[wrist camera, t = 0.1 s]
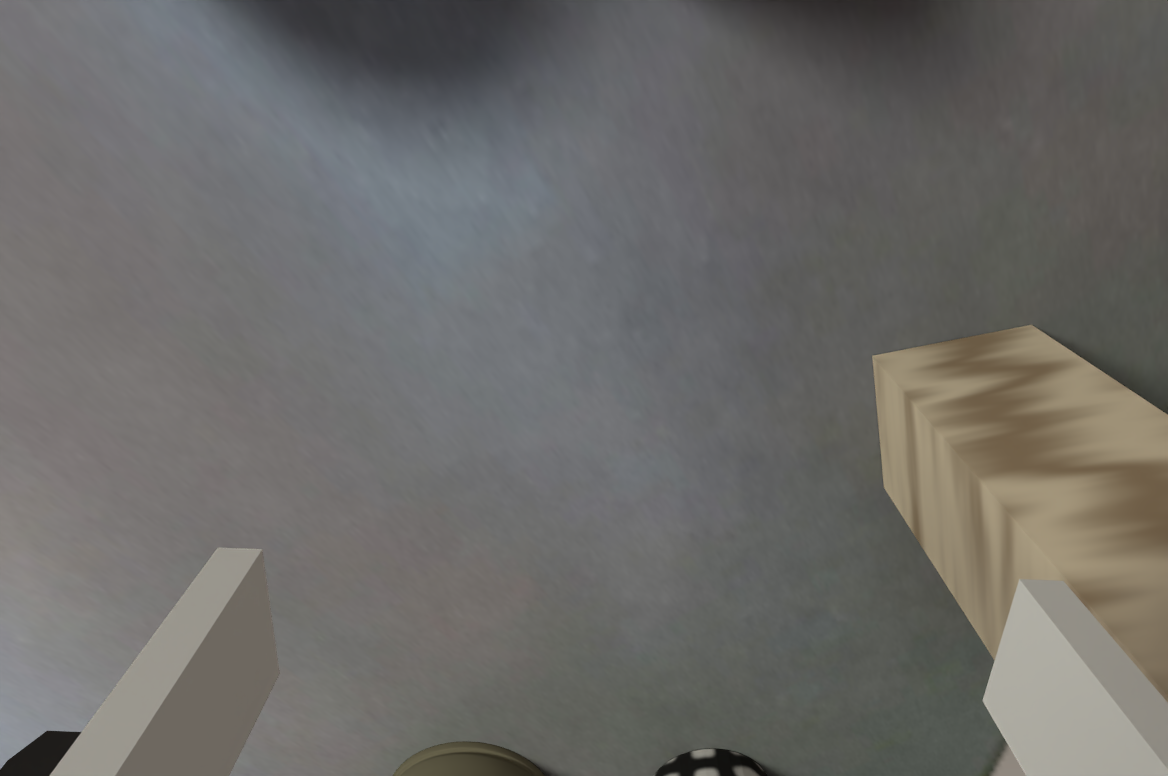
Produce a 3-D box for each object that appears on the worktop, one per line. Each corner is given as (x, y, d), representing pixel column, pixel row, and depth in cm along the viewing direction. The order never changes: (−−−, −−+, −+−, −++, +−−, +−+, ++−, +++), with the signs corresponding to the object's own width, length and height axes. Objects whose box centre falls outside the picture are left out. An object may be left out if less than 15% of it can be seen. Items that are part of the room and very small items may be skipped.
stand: (867, 505, 46) (1333, 1310, 17) (851, 341, 42) (1419, 1019, 13) (1051, 473, 45) (1881, 1267, 16) (1051, 302, 41) (2147, 940, 12)
